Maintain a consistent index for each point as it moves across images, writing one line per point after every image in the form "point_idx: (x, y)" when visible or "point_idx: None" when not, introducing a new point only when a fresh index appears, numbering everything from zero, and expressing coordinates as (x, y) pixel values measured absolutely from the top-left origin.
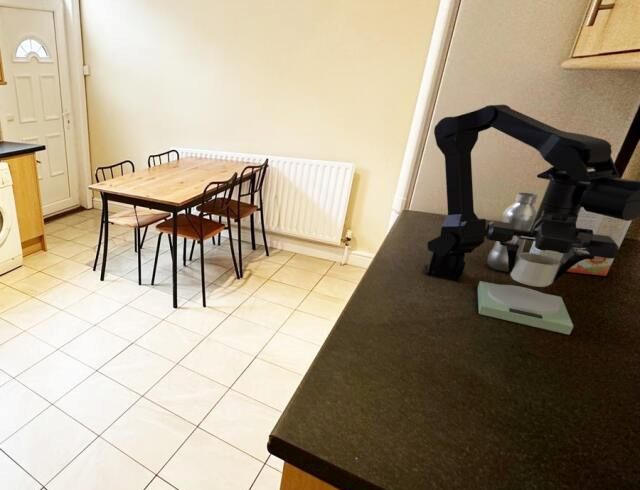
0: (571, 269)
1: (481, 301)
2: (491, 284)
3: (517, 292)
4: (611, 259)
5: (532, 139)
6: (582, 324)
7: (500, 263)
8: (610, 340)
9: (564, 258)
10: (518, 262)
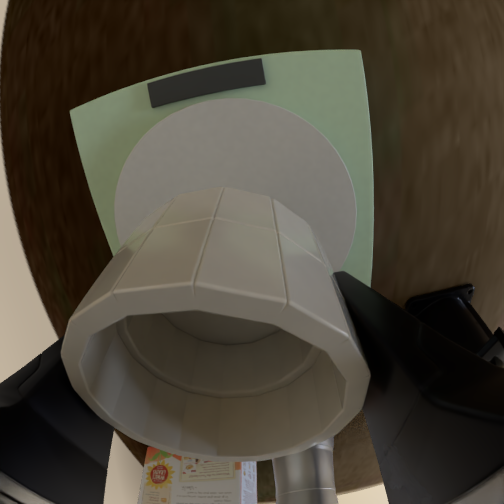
0: None
1: (367, 99)
2: None
3: None
4: (144, 473)
5: None
6: (81, 220)
7: None
8: (28, 166)
9: (75, 435)
10: (346, 312)
